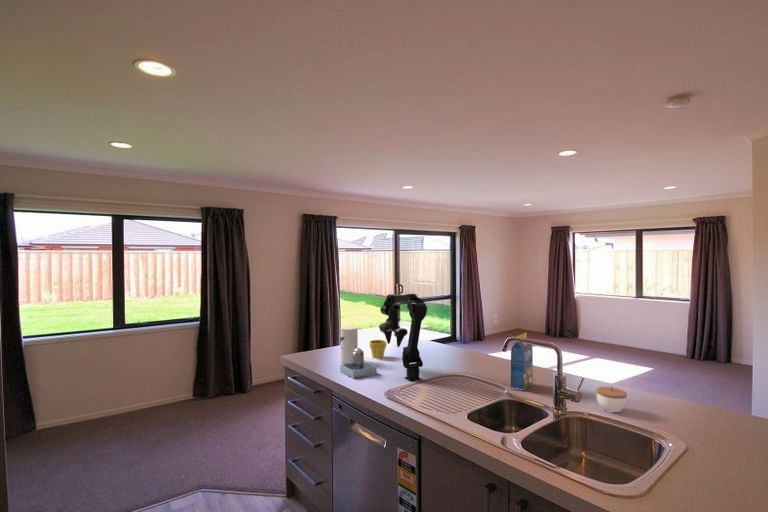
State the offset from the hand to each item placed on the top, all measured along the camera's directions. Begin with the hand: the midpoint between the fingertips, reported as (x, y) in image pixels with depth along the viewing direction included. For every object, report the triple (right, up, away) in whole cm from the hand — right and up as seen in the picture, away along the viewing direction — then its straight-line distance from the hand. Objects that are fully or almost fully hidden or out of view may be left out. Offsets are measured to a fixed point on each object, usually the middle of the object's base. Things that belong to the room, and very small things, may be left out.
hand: (393, 345), depth 215 cm
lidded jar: (+87, -13, -58) cm, 105 cm away
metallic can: (-19, -12, -8) cm, 24 cm away
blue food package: (+60, -13, -29) cm, 68 cm away
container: (-26, -13, +15) cm, 33 cm away
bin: (-19, -13, -8) cm, 24 cm away
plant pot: (-9, -13, +24) cm, 29 cm away
